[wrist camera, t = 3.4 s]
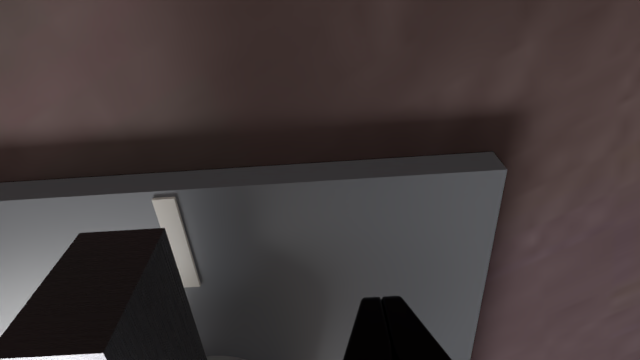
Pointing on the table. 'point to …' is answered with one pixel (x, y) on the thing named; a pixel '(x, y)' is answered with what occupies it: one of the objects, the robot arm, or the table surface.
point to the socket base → (282, 245)
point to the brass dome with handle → (108, 304)
